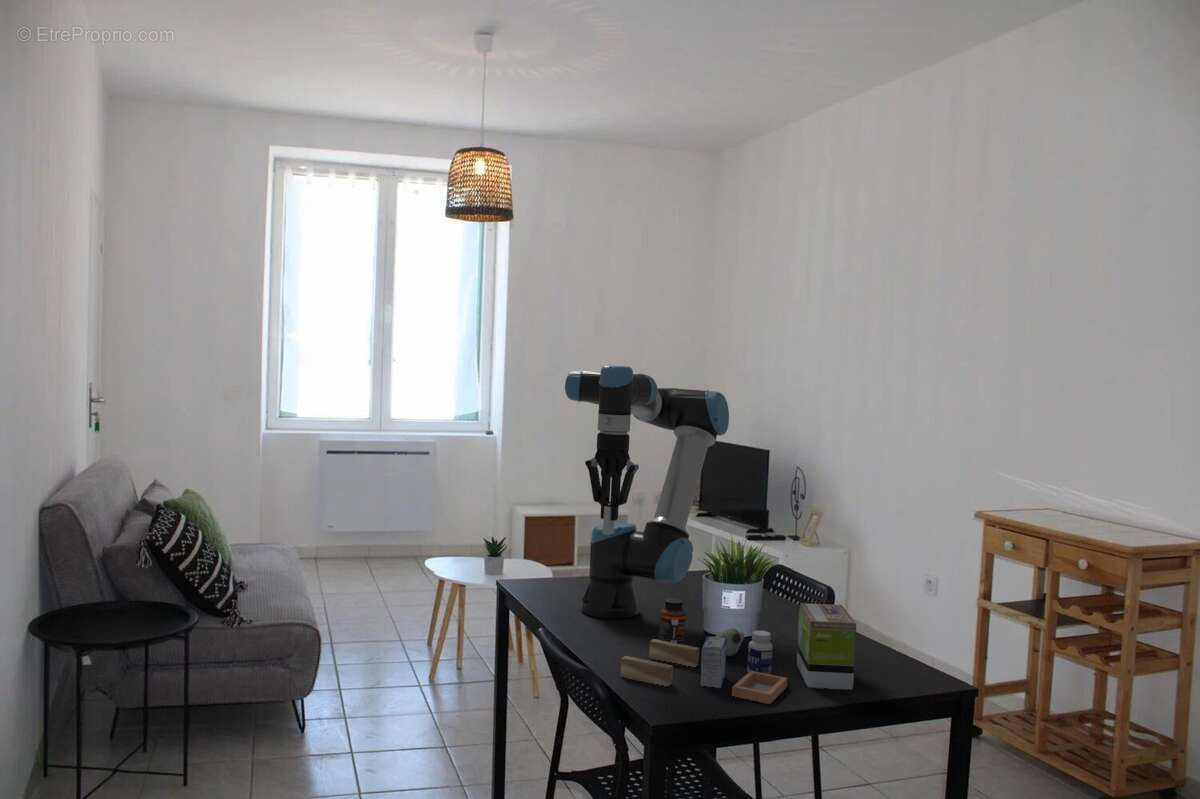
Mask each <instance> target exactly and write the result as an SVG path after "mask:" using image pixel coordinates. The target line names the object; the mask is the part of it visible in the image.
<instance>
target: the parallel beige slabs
mask: <svg viewBox="0 0 1200 799" xmlns="http://www.w3.org/2000/svg"><path fill="white" fill-rule="evenodd" d="M699 652H700V648H699V647H696V646H691V645H687V644H684V645H682V644H676V643H671V642H666V641H661V640H659V639H654V638H653V639H651V640H650V641H649V652H648V653H649V655H648V657H649V658H650V659H649V658H648V659H649V660H647V659H643V658H638V657H633V656H628V655H624V656H623V657H621V658H620V659H621V660H620V678H624V679H629V680H634V681H638V682H642V681H643V683H648V684H652V683H653V685H656V684H659V685H658V686H661V685H664V686H663V687H666V686H669V685H670V686H672V685H673V673H674V669H673V668H674V664H673V663H677V664H676V665H678V664H682V665H681V666H683V665H686V666H685V667H688V666H692V667H691V668H693V667H695V668H696V666H697V665H698V666H699V655H700V654H699ZM653 659H656V660H655V661H654V660H653ZM652 660H653V661H652ZM658 660H661V661H660V662H659V661H658ZM657 661H658V662H657ZM663 661H666V662H665V663H663ZM668 662H672V663H671V664H673V665H671V664H667V663H668ZM698 666H697V667H698ZM671 684H672V685H671ZM670 686H669V687H670Z"/></svg>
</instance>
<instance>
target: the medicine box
mask: <svg viewBox="0 0 1200 799" xmlns="http://www.w3.org/2000/svg"><path fill="white" fill-rule="evenodd" d="M726 656H727V655H726V638H719V637H716V636H707V637H706V638H705V641H704V643H703V646H702V648H701V664H700V665H701V666H700V668H701V669H700V671H701V672H700V687H704V686H708V687H707V688H711V687H715V688H714V689H720V688H721V689H722V686H723V683H724V680H725V677H726V674H725V673H726V661H727V660H726Z"/></svg>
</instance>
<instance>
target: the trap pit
mask: <svg viewBox="0 0 1200 799" xmlns="http://www.w3.org/2000/svg"><path fill="white" fill-rule="evenodd" d="M787 686H788V677H784V676H779V675H774V674H765V673H760V672H754V671H750V672H747V673H746V674H745V675H744V676H743V677H742V678H740V679H739V680H738V681H737V682H736V683H735V684H734V685H733V686H732V687H731V688H732V689H731V697H733V696H735V697H734V698H738V697H739V699H744V700H747V699H748V700H749V701H753V702H757V701H758V702H757V703H762V704H766V705H770V704H772V702H774V700H776V699H777V698H778V696H780V694H781V693H783V692H784V691H785V690H786V689H787V688H788V687H787ZM748 700H747V701H748Z"/></svg>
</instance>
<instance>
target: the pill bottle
mask: <svg viewBox="0 0 1200 799" xmlns="http://www.w3.org/2000/svg"><path fill="white" fill-rule="evenodd" d="M771 638H772V637H771V632H769V631H767V630H754V631H752V634H751V639H752V640H750V641H749V643H748V649H747V650H748V651H747V664H746V671H747V673H749V672H750V671H754V672H760V673H765V674H770V675H772V667H773V666H772V665H773V664H772V663H773V651H774V649H773V647H774V646H773V644H772V643H771V642H770V641H771Z"/></svg>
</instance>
